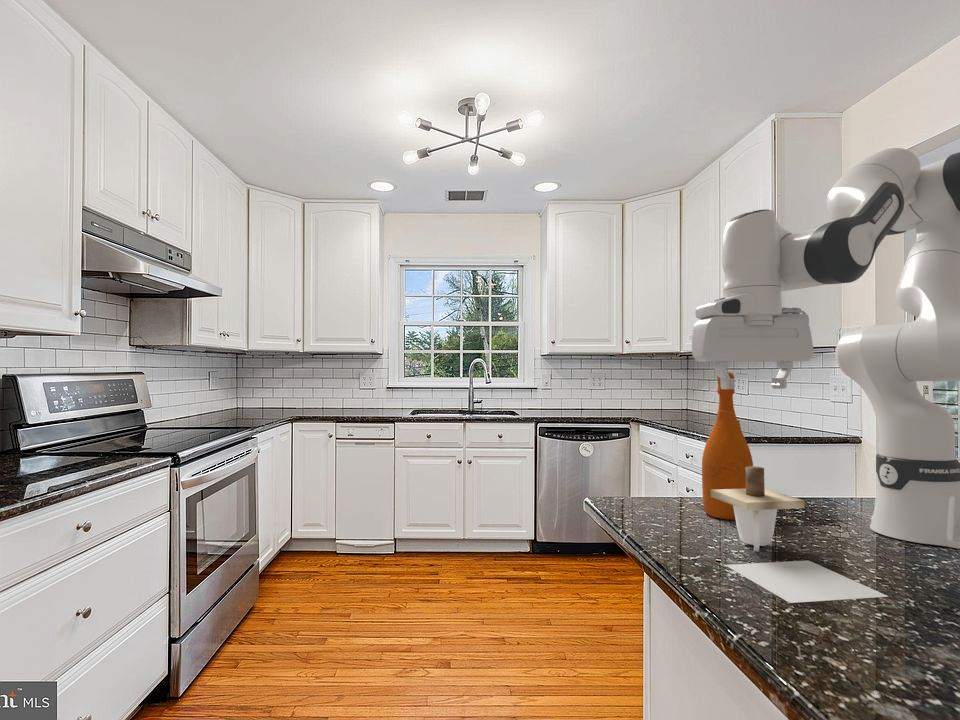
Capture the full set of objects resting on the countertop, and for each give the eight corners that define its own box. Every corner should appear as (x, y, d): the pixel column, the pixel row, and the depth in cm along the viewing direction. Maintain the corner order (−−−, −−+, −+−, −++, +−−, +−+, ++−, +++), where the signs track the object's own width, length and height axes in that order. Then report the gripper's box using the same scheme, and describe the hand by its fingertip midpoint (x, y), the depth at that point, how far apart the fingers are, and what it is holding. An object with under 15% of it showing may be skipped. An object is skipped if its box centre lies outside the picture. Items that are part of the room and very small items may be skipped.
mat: (808, 563, 84) (808, 560, 84) (888, 600, 70) (888, 596, 70) (724, 568, 82) (724, 564, 82) (790, 606, 68) (789, 602, 68)
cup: (777, 545, 93) (776, 497, 94) (782, 563, 84) (781, 510, 85) (732, 540, 96) (731, 494, 97) (732, 556, 87) (731, 506, 87)
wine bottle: (763, 521, 108) (760, 371, 109) (714, 521, 108) (711, 371, 109) (740, 509, 118) (738, 372, 119) (695, 509, 118) (693, 372, 119)
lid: (763, 494, 96) (762, 462, 96) (804, 508, 86) (803, 472, 86) (710, 496, 95) (710, 463, 95) (746, 510, 85) (745, 473, 85)
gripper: (794, 309, 96) (796, 387, 96) (686, 308, 93) (687, 389, 93) (821, 305, 90) (823, 388, 89) (706, 303, 87) (708, 389, 87)
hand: (753, 388), depth 91 cm, fingers open, 8 cm apart
